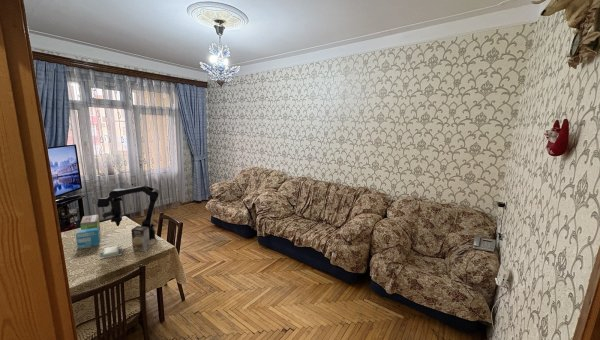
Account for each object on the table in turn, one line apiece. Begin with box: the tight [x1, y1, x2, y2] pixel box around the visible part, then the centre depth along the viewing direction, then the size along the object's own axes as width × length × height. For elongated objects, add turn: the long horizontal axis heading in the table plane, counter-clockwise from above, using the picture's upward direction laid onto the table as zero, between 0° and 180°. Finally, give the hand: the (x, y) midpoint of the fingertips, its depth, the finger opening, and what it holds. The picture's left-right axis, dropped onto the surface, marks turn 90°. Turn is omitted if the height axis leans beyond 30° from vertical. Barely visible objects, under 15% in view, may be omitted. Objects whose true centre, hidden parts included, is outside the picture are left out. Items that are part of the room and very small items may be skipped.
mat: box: [99, 247, 123, 261], centre depth 173 cm, size 12×10×1 cm
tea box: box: [79, 214, 101, 235], centre depth 193 cm, size 15×10×15 cm
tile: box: [103, 245, 120, 257], centre depth 174 cm, size 8×2×9 cm
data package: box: [75, 228, 100, 249], centre depth 180 cm, size 12×4×12 cm, turn 126°
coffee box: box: [131, 225, 151, 252], centre depth 180 cm, size 9×6×16 cm
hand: (117, 226), depth 187 cm, fingers closed
